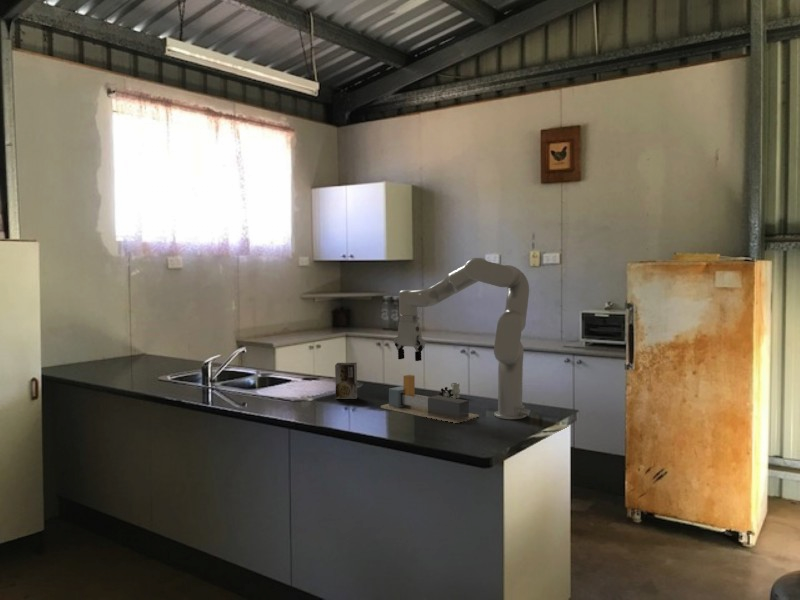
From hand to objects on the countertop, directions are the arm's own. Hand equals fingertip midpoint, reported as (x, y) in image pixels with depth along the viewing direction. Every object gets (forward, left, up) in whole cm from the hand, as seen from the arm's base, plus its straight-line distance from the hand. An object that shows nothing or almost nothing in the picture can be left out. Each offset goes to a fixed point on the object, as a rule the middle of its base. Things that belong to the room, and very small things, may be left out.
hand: (409, 359), depth 269 cm
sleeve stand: (-10, 0, -21) cm, 23 cm away
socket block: (+5, 0, -20) cm, 20 cm away
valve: (-1, -26, -21) cm, 34 cm away
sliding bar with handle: (-5, 0, -19) cm, 19 cm away
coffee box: (+35, +4, -21) cm, 41 cm away
